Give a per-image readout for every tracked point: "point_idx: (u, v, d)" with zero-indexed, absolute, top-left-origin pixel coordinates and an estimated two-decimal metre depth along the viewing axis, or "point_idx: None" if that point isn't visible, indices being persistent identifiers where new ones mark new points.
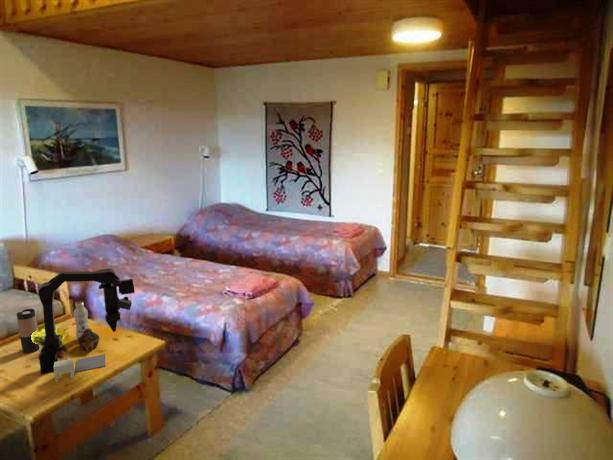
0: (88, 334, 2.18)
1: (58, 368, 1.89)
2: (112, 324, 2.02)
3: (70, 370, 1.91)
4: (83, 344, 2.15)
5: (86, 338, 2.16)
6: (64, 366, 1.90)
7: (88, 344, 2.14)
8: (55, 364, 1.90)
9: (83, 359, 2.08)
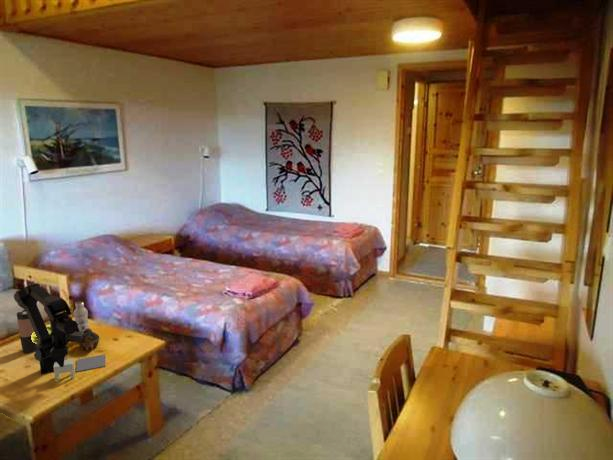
0: (88, 334, 2.18)
1: (58, 368, 1.89)
2: (59, 360, 1.86)
3: (70, 370, 1.91)
4: (83, 344, 2.15)
5: (86, 338, 2.16)
6: (64, 366, 1.90)
7: (88, 344, 2.14)
8: (55, 364, 1.90)
9: (83, 359, 2.08)
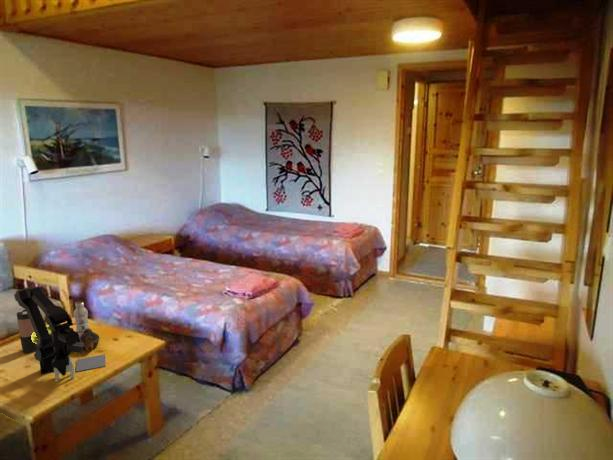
0: (88, 334, 2.18)
1: None
2: (61, 368, 1.88)
3: (70, 370, 1.91)
4: None
5: (86, 338, 2.16)
6: None
7: (88, 344, 2.14)
8: None
9: (83, 359, 2.08)
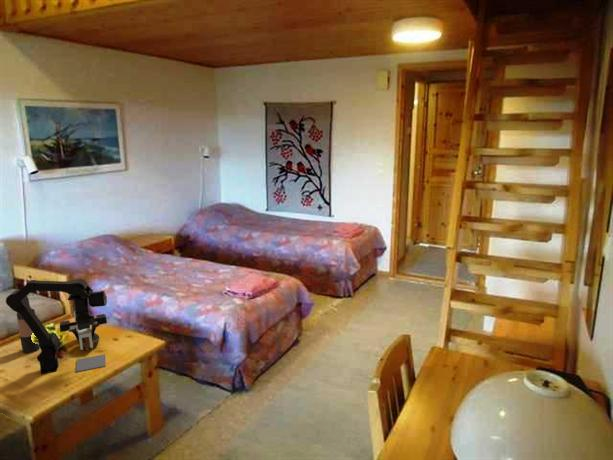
0: None
1: (78, 332, 2.01)
2: None
3: (79, 340, 1.98)
4: (83, 344, 2.15)
5: (86, 338, 2.16)
6: None
7: (88, 344, 2.14)
8: None
9: (83, 359, 2.08)
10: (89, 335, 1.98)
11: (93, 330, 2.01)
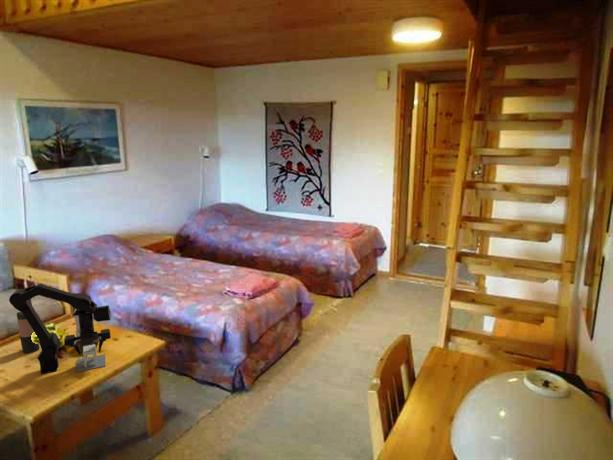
0: None
1: (83, 350, 2.04)
2: None
3: None
4: None
5: None
6: (83, 351, 2.02)
7: (88, 344, 2.14)
8: None
9: (83, 359, 2.08)
10: (93, 353, 2.01)
11: (100, 344, 2.04)
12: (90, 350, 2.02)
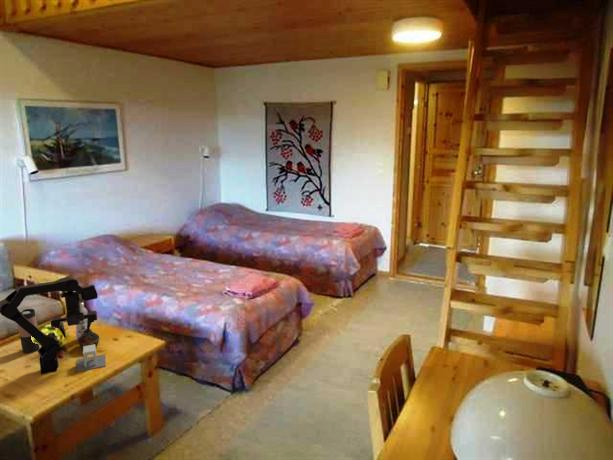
0: (88, 334, 2.18)
1: (83, 350, 2.04)
2: None
3: None
4: (83, 344, 2.15)
5: (86, 338, 2.16)
6: (83, 351, 2.02)
7: (88, 344, 2.14)
8: None
9: (83, 359, 2.08)
10: (93, 353, 2.01)
11: (88, 325, 2.06)
12: (90, 350, 2.02)
